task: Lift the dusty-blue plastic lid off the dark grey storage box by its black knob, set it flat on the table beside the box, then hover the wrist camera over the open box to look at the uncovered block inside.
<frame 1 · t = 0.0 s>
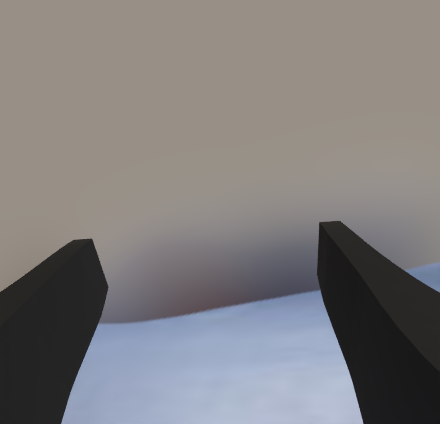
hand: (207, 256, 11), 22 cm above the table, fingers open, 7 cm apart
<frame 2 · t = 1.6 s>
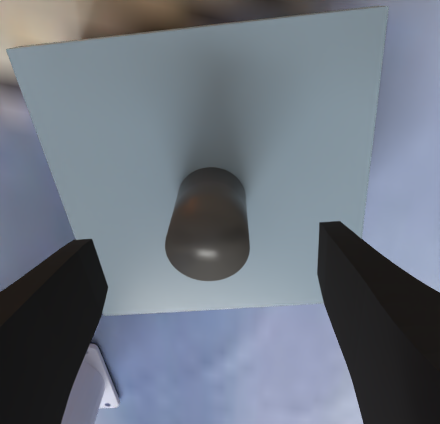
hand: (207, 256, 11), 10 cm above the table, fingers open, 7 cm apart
lid: (212, 187, 16), point 5 cm above the table, touching storage box
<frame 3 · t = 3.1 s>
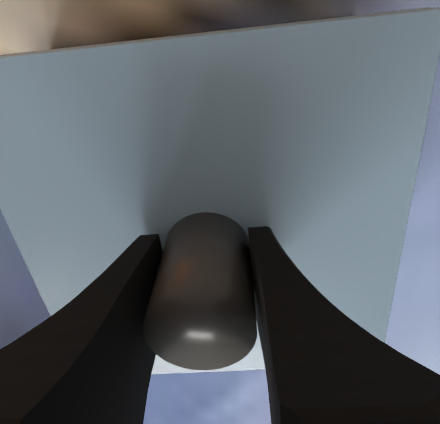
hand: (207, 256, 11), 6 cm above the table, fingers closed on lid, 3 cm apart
lid: (209, 232, 13), point 5 cm above the table, touching gripper, storage box
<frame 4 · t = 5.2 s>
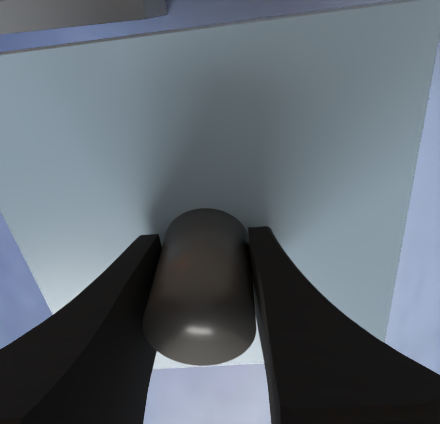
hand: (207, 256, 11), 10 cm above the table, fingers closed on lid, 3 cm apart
lid: (208, 227, 13), point 8 cm above the table, touching gripper
when the fingers open (3 cm above the table, at t = 7.5 s): lid drops 1 cm, on the table.
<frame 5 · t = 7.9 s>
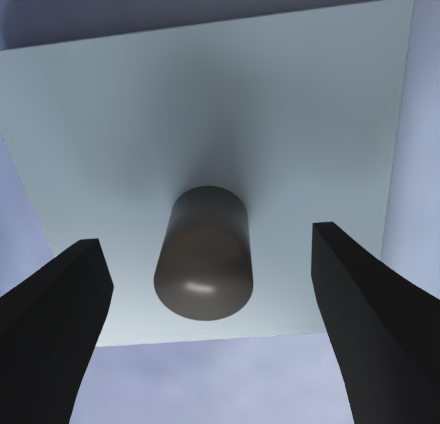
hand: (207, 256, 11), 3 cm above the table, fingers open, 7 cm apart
lid: (210, 206, 14), on the table
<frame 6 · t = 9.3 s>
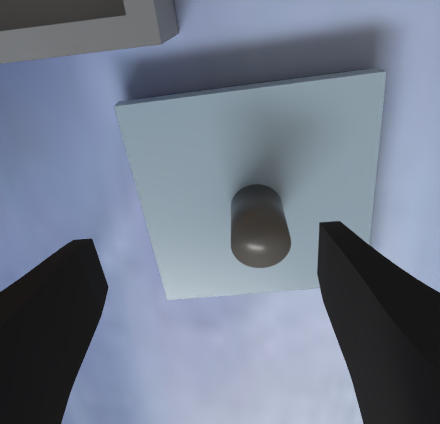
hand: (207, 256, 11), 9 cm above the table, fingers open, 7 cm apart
lid: (255, 198, 21), on the table
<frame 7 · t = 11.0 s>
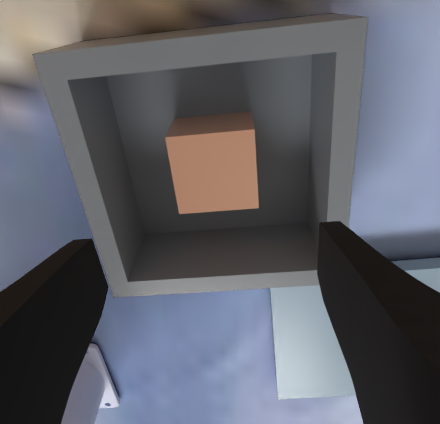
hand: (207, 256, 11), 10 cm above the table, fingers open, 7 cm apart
storage box: (216, 147, 20), on the table
uncovered block: (216, 151, 20), point 1 cm above the table, touching storage box
lid: (359, 330, 26), on the table
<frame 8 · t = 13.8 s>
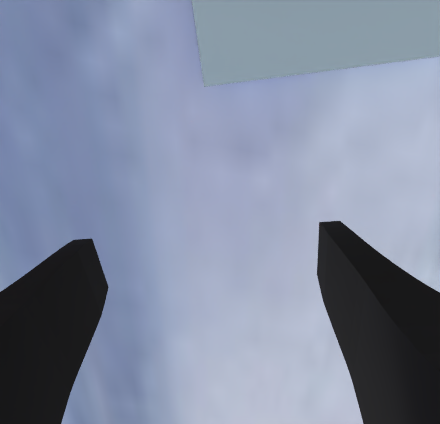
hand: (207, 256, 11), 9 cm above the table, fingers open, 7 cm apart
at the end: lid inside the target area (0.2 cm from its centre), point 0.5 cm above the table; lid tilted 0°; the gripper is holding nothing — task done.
